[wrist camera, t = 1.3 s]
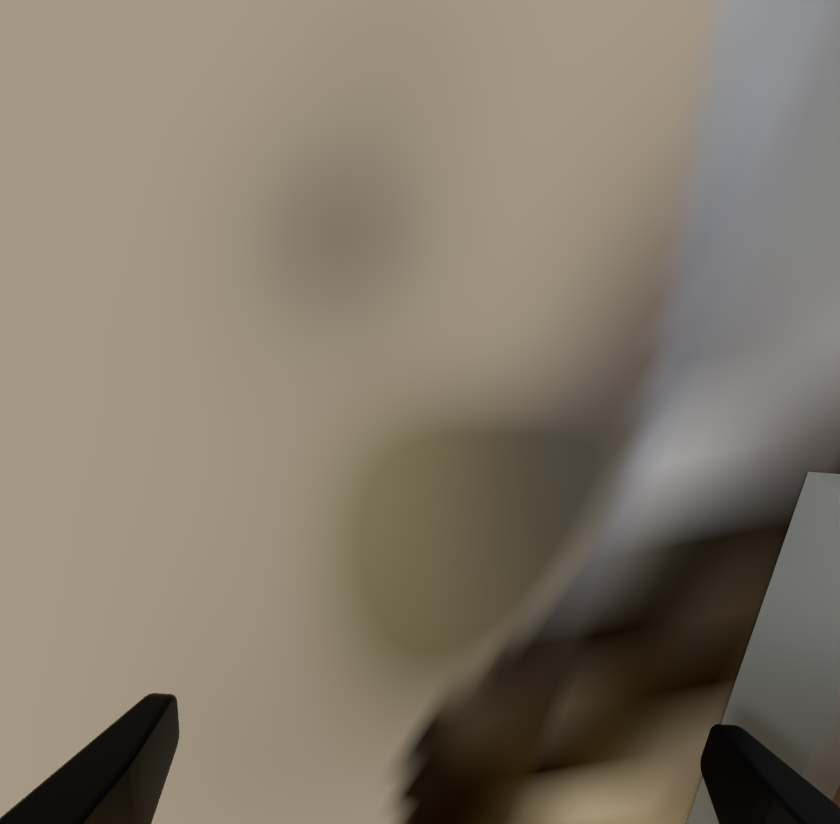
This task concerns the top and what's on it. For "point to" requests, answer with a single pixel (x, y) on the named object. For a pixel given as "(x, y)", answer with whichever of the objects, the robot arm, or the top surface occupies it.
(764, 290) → the top surface
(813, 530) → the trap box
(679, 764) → the top surface
